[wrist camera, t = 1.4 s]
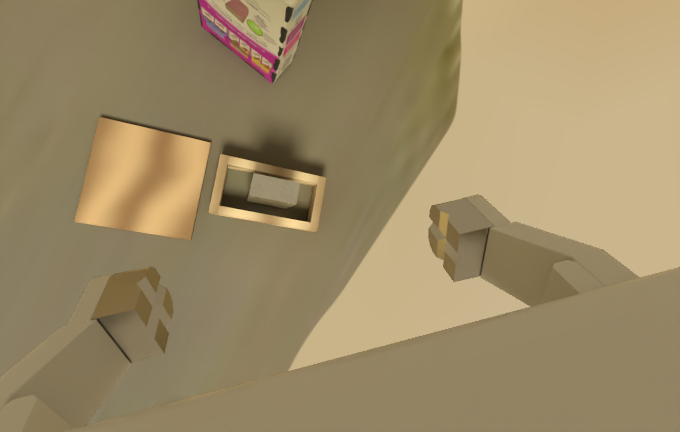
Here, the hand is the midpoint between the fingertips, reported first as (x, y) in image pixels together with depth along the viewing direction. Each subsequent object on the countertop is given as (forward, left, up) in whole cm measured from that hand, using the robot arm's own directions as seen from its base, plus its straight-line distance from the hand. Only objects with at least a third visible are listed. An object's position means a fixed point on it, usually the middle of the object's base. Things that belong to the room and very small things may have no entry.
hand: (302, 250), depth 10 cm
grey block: (+1, +5, -35) cm, 36 cm away
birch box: (+1, +5, -35) cm, 36 cm away
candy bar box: (-5, +24, -35) cm, 43 cm away
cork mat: (-13, +4, -35) cm, 38 cm away
